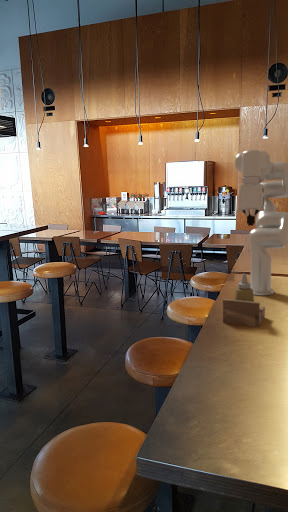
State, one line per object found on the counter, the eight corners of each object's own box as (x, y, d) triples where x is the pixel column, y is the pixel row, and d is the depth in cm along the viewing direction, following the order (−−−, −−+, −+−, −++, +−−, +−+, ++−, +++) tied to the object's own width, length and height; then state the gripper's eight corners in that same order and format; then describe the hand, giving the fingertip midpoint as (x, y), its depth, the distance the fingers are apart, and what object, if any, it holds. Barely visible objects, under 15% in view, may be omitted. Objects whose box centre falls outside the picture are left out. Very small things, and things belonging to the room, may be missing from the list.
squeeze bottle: (254, 322, 139) (255, 276, 136) (232, 321, 141) (232, 276, 138) (255, 315, 146) (255, 272, 143) (234, 314, 149) (234, 271, 146)
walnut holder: (231, 313, 150) (231, 292, 149) (264, 317, 144) (264, 295, 142) (223, 322, 141) (222, 299, 139) (258, 327, 134) (258, 303, 133)
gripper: (271, 180, 150) (270, 224, 153) (235, 182, 158) (235, 224, 161) (268, 180, 144) (267, 226, 147) (230, 182, 151) (230, 226, 154)
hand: (250, 225), depth 154 cm, fingers closed
